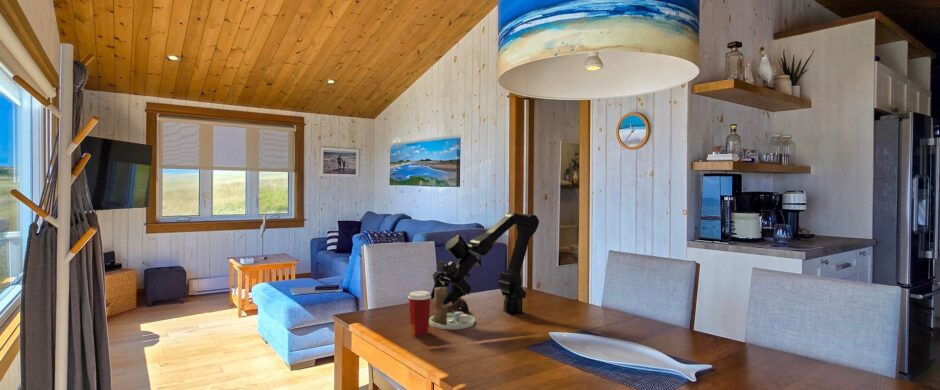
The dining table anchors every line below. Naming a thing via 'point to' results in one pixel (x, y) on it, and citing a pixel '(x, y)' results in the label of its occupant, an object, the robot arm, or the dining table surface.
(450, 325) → the green tray
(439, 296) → the pepper grinder
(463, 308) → the brown hollow cylinder
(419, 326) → the paper cup
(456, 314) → the blue-grey rounded piece
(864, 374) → the dining table surface
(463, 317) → the cream round bead
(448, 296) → the robot arm
